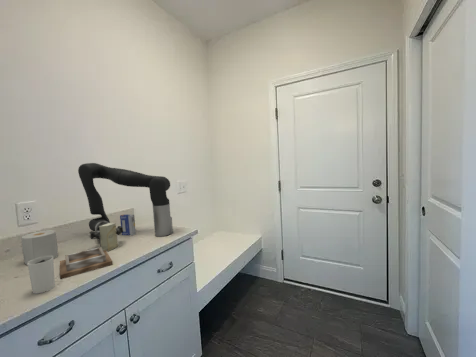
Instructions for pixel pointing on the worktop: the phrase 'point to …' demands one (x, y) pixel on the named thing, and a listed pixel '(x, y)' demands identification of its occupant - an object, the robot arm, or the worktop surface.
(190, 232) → the worktop surface
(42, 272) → the white coffee cup
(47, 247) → the toilet paper roll
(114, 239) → the skincare box
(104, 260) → the socket board
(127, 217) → the walkman
